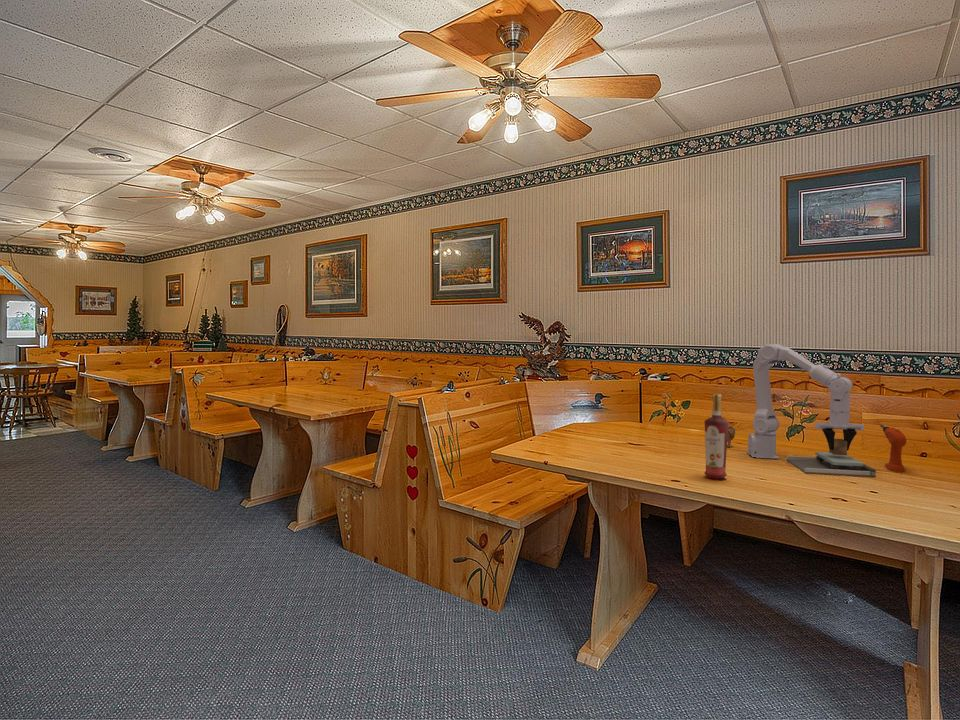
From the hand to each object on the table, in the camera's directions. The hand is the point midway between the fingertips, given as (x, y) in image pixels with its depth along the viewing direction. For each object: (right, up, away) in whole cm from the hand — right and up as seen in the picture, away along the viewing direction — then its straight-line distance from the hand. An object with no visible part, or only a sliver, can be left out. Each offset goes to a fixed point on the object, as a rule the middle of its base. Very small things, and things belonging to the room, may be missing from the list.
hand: (838, 449), depth 185 cm
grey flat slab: (0, -7, 0) cm, 7 cm away
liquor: (-48, -8, -11) cm, 50 cm away
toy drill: (+21, -7, +4) cm, 22 cm away
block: (0, -2, +1) cm, 2 cm away
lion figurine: (-25, -6, +36) cm, 45 cm away
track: (-3, -7, +1) cm, 8 cm away
